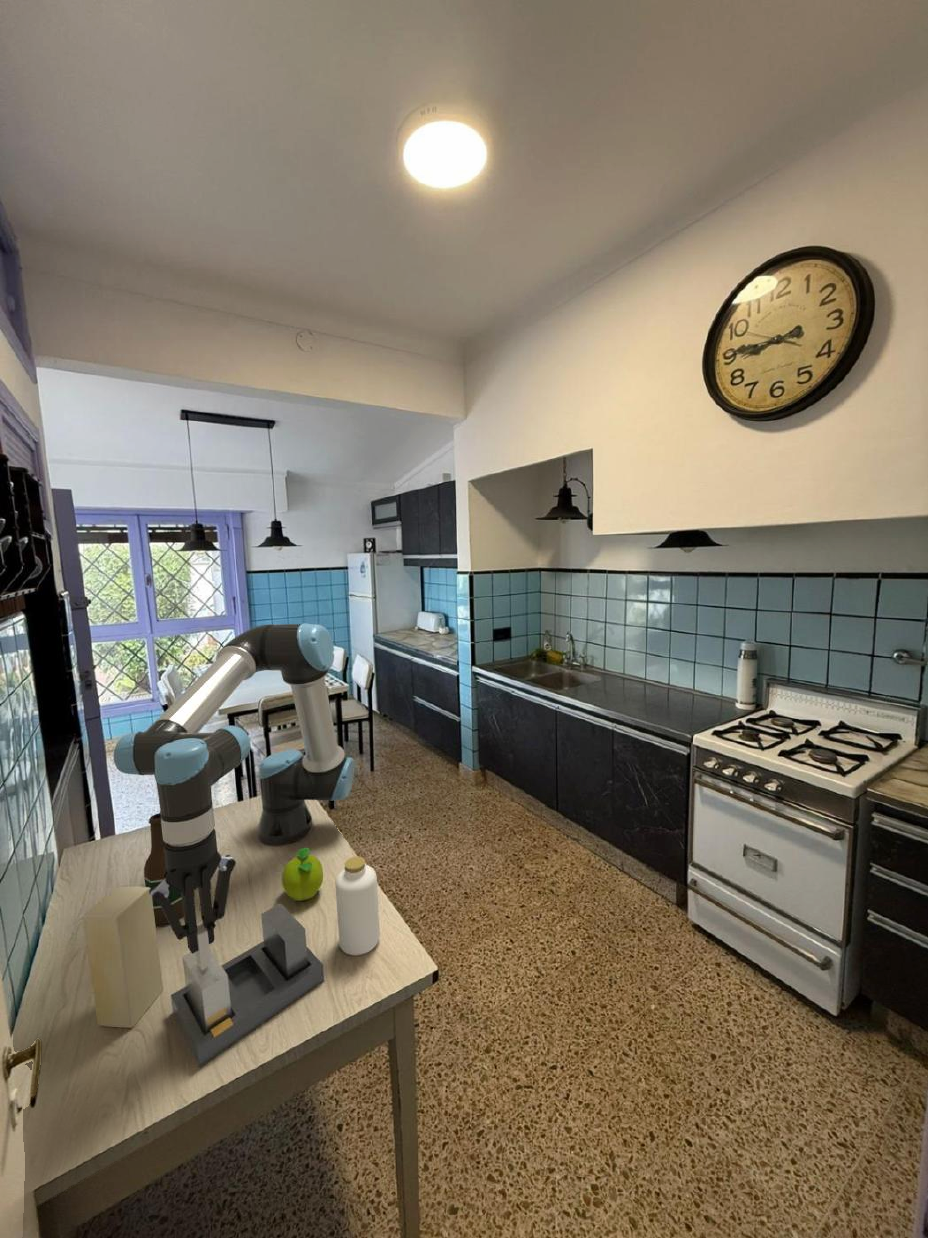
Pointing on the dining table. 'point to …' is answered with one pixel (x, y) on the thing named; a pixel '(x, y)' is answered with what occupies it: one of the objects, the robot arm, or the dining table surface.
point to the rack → (256, 985)
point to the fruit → (302, 876)
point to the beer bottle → (160, 872)
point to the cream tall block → (123, 956)
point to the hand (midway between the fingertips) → (203, 963)
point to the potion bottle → (357, 907)
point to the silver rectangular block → (207, 992)
